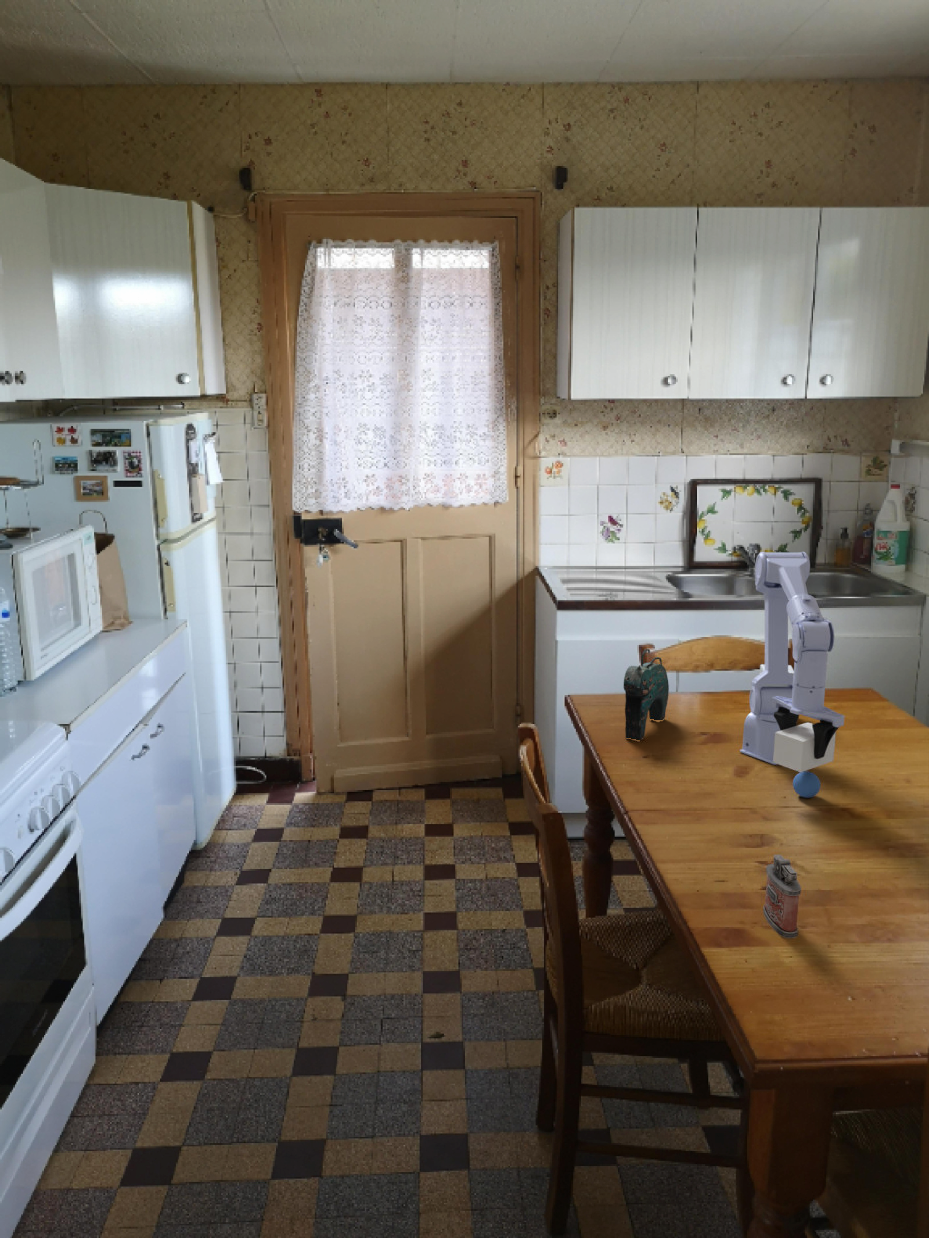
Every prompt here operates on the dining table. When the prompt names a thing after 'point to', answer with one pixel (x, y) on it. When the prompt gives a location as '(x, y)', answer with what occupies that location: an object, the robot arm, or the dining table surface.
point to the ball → (806, 784)
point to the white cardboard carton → (799, 748)
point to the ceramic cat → (644, 696)
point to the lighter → (782, 897)
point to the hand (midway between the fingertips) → (803, 752)
